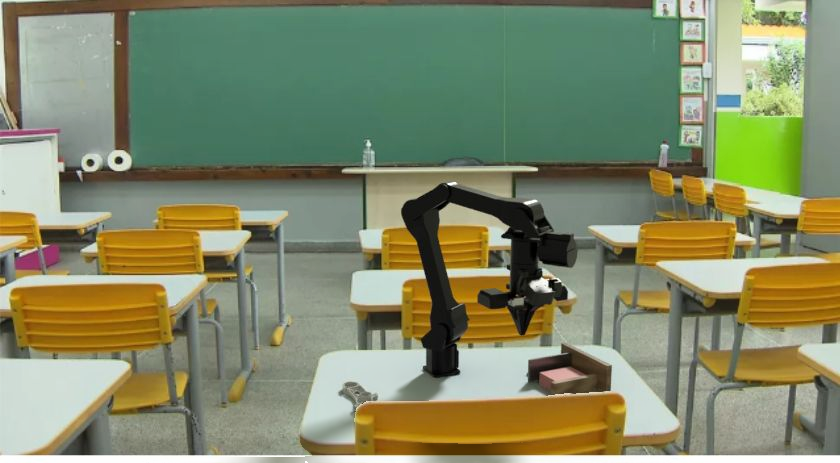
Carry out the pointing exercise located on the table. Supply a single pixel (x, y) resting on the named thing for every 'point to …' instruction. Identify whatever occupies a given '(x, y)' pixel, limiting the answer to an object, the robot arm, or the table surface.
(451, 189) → the robot arm
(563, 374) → the block
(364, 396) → the bracket
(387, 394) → the table surface
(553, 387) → the shelf
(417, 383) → the table surface
